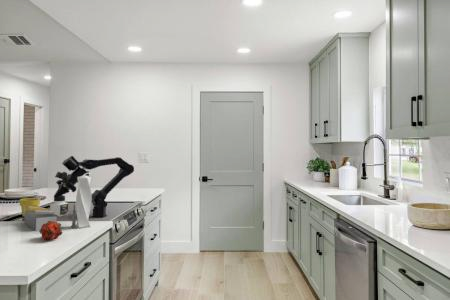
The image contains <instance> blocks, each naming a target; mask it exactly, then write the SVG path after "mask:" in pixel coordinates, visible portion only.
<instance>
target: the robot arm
mask: <svg viewBox="0 0 450 300" xmlns="http://www.w3.org/2000/svg"><path fill="white" fill-rule="evenodd" d="M61 164H62V165H63V166H64V167H65V168H66V169H68V171H69V172H70V171H71V173H68V172H66V171H63V172H60V171H57V172H56V174H55V176H54V177H55V178H57V179H58V180H56V182H55V184H57V185H58V189H57V190H56V192H55V193H54V195H53V199H54V198H56V197H59V196H61V195H65V194H68V193H70V191H71V193H75V192H77V187H76V186H75V185H76V184H78V179H77V177H79V176H83V175H84V174H85V173H90V171H88V170H93V169H94V170H95V169H96V168H99V167H102V166H103V167H104V166H111V165H117V167H118V168H119V170H118V172H117V173H116V174H115V176H114V177H112V179H110V181H108V182H107V184H105V185H104V186H103V187H102V188H101V189H100V190H99V189H96V190H95V191H94V192H93V193H91V196H92V201H91V204H92V205H93V208H92V216H91V218H104V217H107V216H108V214H106V211H107V206H108V203H107V201H105V200H106V198H107V196H108V194H110V192H112V190H113V189H114V188H115V187H116V186H117V185H118V184H119V183H120V182H121V181H122V180H123V179H124V178H126V177H128V176H130V175H131V174H133V173H134V171H135V166H134V165H133V164H130V163H128V162H127V161H125V160H124V159H123V158H122V157H119V156H118V157H111V158H104V159H87V158H86V159H83V160H82V161H78V160H77V159H76V158H75V157H74V156H73V155H70V157H68V158H66V159H65V160H63V162H62V163H61ZM84 176H88V177H90V174H85V175H84ZM79 178H80V177H79Z"/></svg>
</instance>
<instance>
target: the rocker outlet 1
mask: <svg viewBox="0 0 450 300" xmlns="http://www.w3.org/2000/svg"><path fill="white" fill-rule="evenodd" d="M28 208H29V209H34V210H42V211H47V210H48V209H47V208H45V207H39V206H38V207H33V206H29V207H28Z"/></svg>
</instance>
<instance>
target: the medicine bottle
mask: <svg viewBox="0 0 450 300" xmlns="http://www.w3.org/2000/svg"><path fill="white" fill-rule="evenodd" d="M49 207H50V208H49V211H53V212H55V213H54V214H56V215H57V217H63V216H66V215H69V202H66V196H65V194H63V195H61V196H59V197H56V198H54V197H53V203H50V204H49Z"/></svg>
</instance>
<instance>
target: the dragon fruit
mask: <svg viewBox="0 0 450 300" xmlns="http://www.w3.org/2000/svg"><path fill="white" fill-rule="evenodd" d="M39 233H40V234H41V238H42V239H44V240H45V241H46V242H48V241H51V240H53V239H55V240H56V239H58V238H59V237H60V236H61V235H63V230H62V224H61V223H60V222H58V221H57V222H56V221H52V222H51V221H48V222H47V223H46V224H43V225H42V227H41V230H40V231H39Z"/></svg>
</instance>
